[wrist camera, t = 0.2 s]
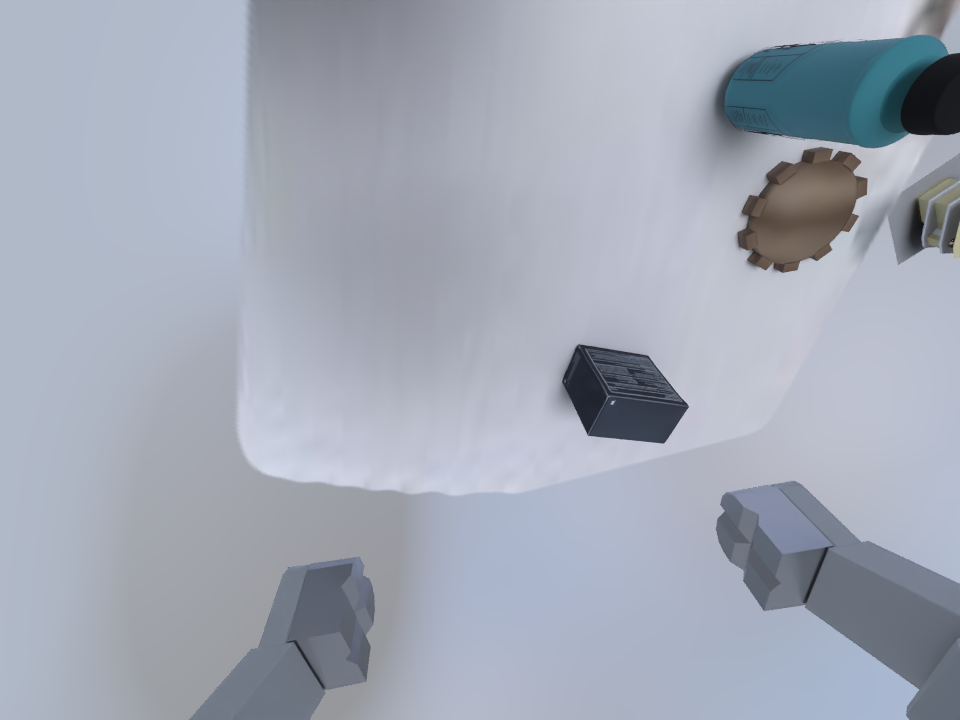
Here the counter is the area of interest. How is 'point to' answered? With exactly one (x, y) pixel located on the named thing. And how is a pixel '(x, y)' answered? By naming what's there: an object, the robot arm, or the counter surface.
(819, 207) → the gear plate
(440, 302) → the counter surface
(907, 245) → the stacked layers on plate
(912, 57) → the beverage bottle
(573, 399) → the small box
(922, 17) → the counter surface
